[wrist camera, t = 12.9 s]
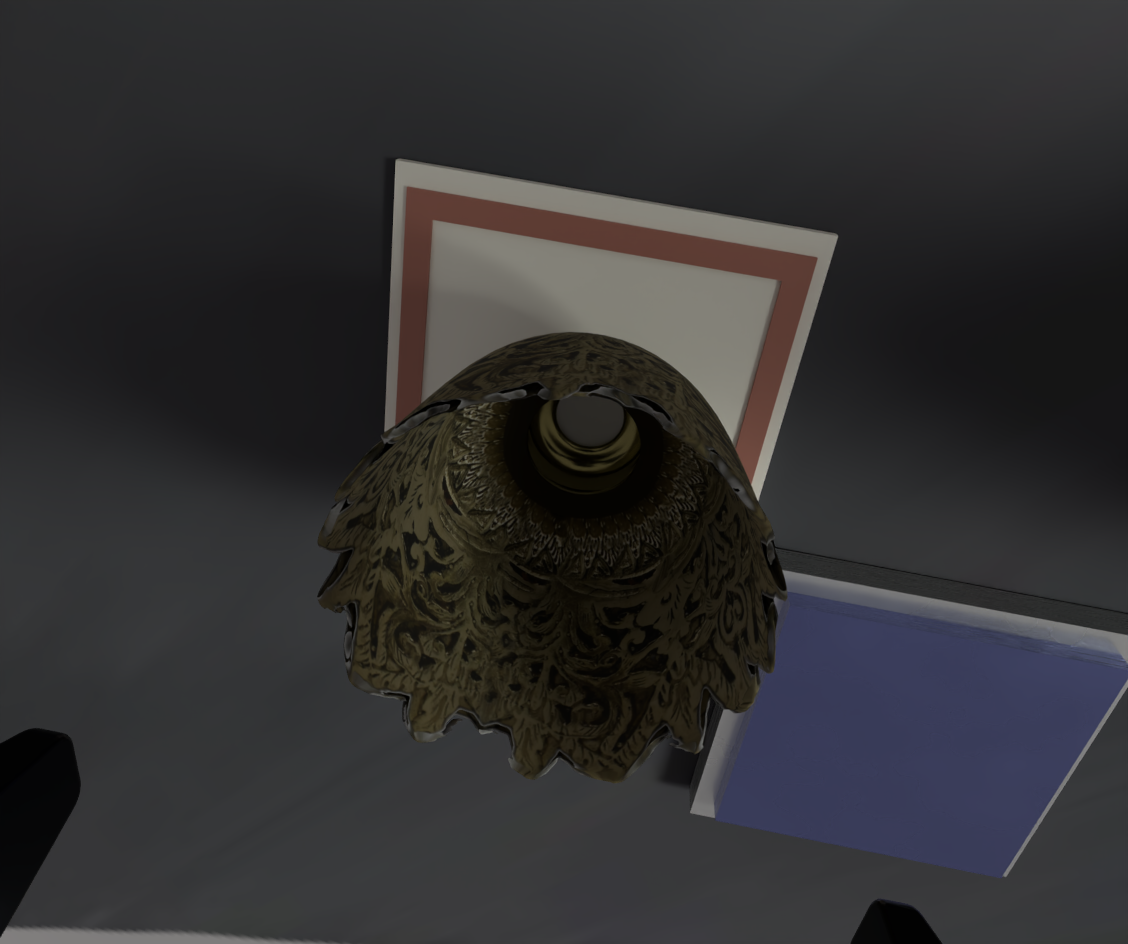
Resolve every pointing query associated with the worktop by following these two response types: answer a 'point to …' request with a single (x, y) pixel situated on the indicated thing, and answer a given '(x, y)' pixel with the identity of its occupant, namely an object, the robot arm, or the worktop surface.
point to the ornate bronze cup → (557, 561)
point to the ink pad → (913, 715)
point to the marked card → (599, 294)
